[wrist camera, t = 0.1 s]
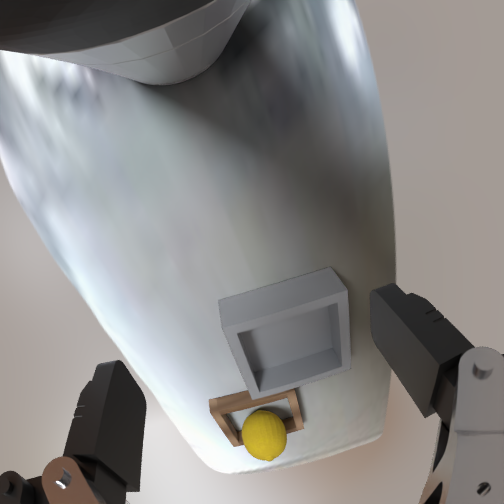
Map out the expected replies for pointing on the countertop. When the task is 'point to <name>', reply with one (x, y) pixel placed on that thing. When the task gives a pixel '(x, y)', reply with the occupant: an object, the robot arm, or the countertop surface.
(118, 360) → the robot arm
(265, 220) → the countertop surface
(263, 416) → the lemon
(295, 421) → the cradle
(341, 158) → the countertop surface
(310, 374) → the holder
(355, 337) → the countertop surface
